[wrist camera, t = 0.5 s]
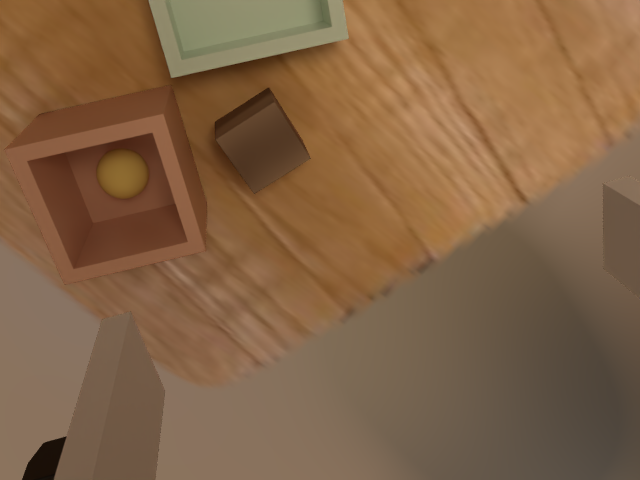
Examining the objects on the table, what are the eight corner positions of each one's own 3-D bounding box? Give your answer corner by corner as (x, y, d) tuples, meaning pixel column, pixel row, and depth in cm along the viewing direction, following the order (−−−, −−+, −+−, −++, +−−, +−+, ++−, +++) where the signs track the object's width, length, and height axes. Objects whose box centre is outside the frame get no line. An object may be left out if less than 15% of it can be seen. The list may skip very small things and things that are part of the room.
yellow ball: (93, 148, 37) (84, 164, 34) (142, 136, 37) (137, 152, 35) (110, 192, 39) (102, 211, 36) (157, 181, 39) (153, 200, 36)
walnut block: (215, 121, 39) (215, 139, 35) (268, 87, 38) (274, 101, 35) (250, 171, 40) (254, 193, 37) (302, 139, 40) (310, 158, 36)
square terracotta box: (39, 114, 37) (4, 149, 30) (171, 84, 37) (163, 113, 31) (87, 231, 40) (64, 284, 34) (207, 203, 41) (205, 251, 34)
